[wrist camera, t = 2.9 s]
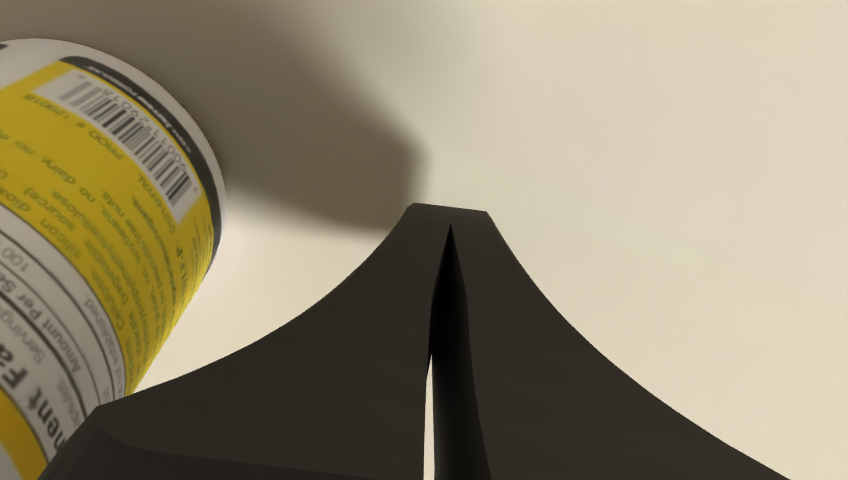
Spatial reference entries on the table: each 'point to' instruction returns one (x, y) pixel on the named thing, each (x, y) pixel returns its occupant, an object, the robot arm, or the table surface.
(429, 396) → the table surface
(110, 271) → the supplement bottle
